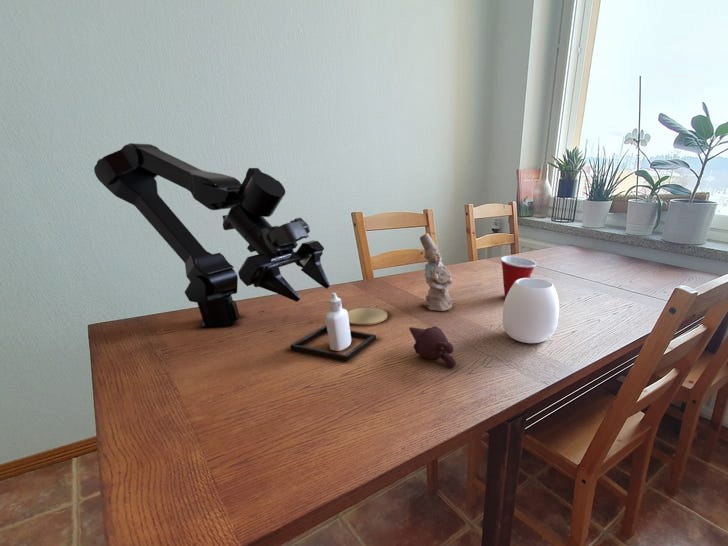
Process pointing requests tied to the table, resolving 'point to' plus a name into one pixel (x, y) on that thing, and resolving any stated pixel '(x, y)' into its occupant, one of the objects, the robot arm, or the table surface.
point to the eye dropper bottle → (338, 325)
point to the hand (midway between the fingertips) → (314, 293)
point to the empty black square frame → (300, 348)
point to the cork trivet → (366, 316)
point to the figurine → (436, 277)
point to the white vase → (531, 310)
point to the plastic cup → (515, 270)
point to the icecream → (433, 344)
